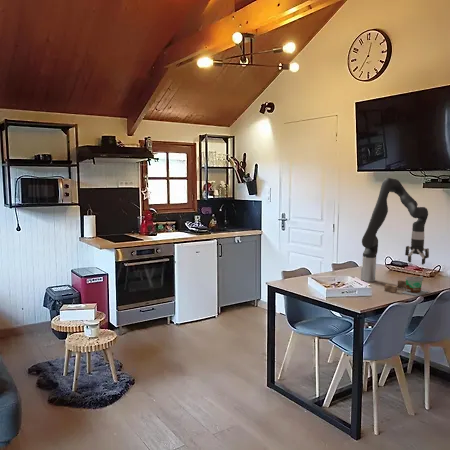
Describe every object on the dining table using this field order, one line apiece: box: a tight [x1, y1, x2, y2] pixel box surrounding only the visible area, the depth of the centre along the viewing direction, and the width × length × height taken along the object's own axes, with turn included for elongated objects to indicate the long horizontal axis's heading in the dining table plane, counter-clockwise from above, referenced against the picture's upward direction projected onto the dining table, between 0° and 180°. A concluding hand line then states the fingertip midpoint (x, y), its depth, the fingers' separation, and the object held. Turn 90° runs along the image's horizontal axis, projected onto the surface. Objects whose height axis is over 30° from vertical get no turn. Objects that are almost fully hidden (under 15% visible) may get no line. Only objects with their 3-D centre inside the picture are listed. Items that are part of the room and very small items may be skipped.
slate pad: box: [401, 289, 429, 297], centre depth 294 cm, size 10×16×1 cm, turn 133°
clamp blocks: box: [384, 279, 406, 294], centre depth 303 cm, size 7×21×4 cm, turn 133°
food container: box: [404, 275, 424, 293], centre depth 293 cm, size 12×6×10 cm, turn 107°
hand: (416, 263), depth 292 cm, fingers open, 8 cm apart
